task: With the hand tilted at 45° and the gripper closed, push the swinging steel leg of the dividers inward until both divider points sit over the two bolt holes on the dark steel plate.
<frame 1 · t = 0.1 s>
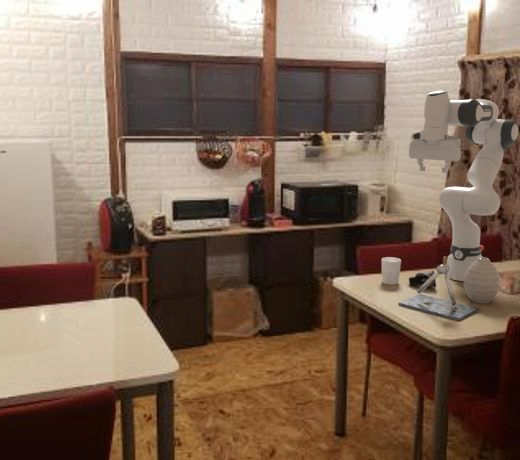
hand: (433, 171, 230), 48 cm above the table, tool pointing down, fingers open, 8 cm apart
white cup: (390, 282, 253), on the table
bolt-hole plate: (438, 308, 220), on the table
vase: (480, 301, 229), on the table
caster wheel: (421, 286, 248), on the table
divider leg: (435, 275, 218), point 12 cm above the table, hinge at 40.0°
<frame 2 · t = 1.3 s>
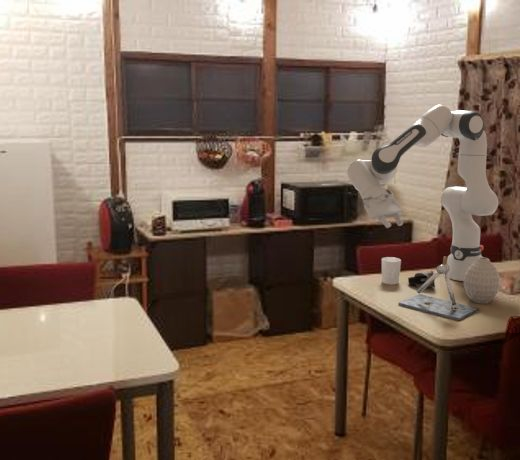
hand: (395, 225, 228), 28 cm above the table, tool tilted 45°, fingers open, 8 cm apart
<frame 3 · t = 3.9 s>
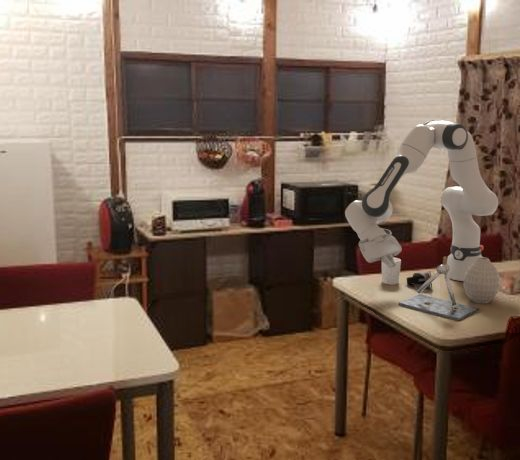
hand: (393, 266, 231), 12 cm above the table, tool tilted 45°, fingers closed
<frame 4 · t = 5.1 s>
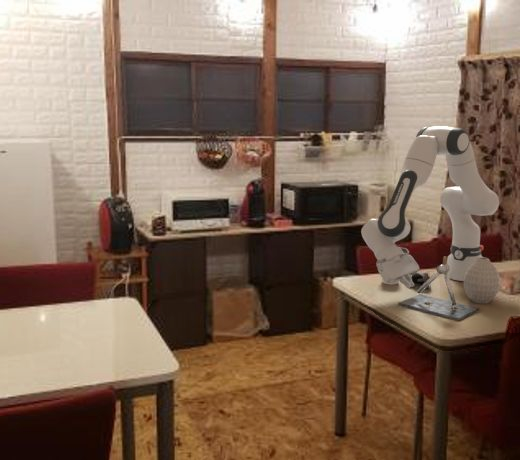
hand: (411, 286, 226), 6 cm above the table, tool tilted 45°, fingers closed
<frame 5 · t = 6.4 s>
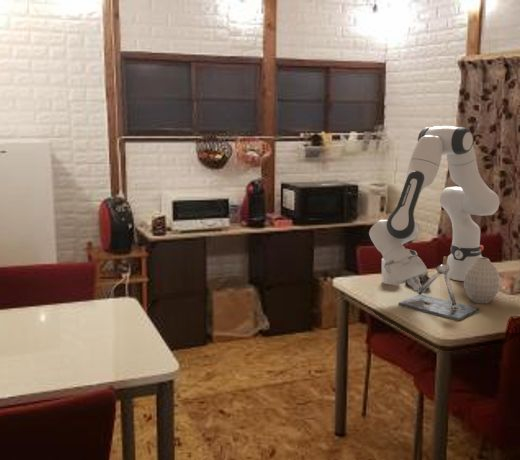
hand: (419, 289, 224), 6 cm above the table, tool tilted 45°, fingers closed, pressing on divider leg
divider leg: (436, 275, 218), point 12 cm above the table, hinge at 38.3°, touching gripper
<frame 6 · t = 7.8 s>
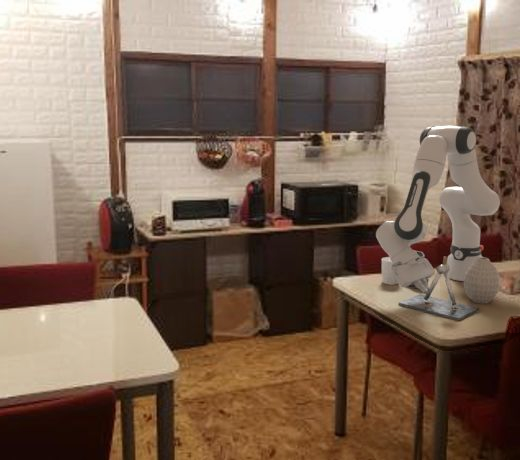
hand: (426, 291, 222), 6 cm above the table, tool tilted 45°, fingers closed, pressing on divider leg
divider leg: (437, 276, 218), point 12 cm above the table, hinge at 24.2°, touching gripper
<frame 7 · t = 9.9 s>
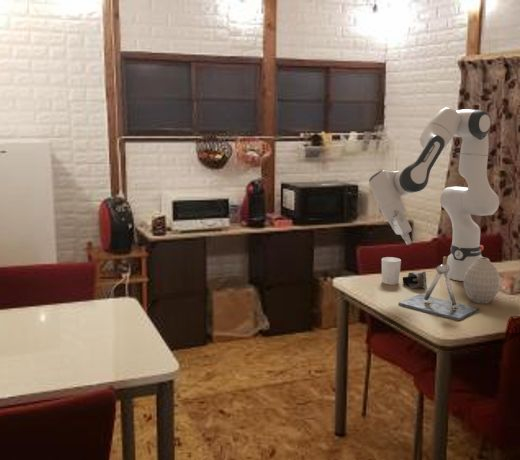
hand: (409, 244, 230), 21 cm above the table, tool tilted 30°, fingers closed
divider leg: (437, 276, 218), point 12 cm above the table, hinge at 24.1°
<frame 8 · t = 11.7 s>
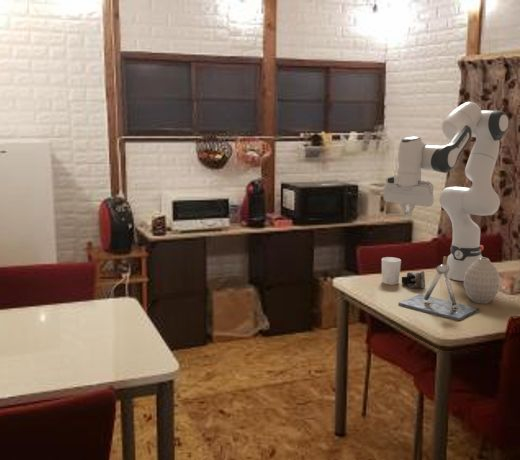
hand: (407, 215, 232), 31 cm above the table, tool pointing down, fingers closed
at the end: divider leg at +24° (first picture: +40°) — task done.
